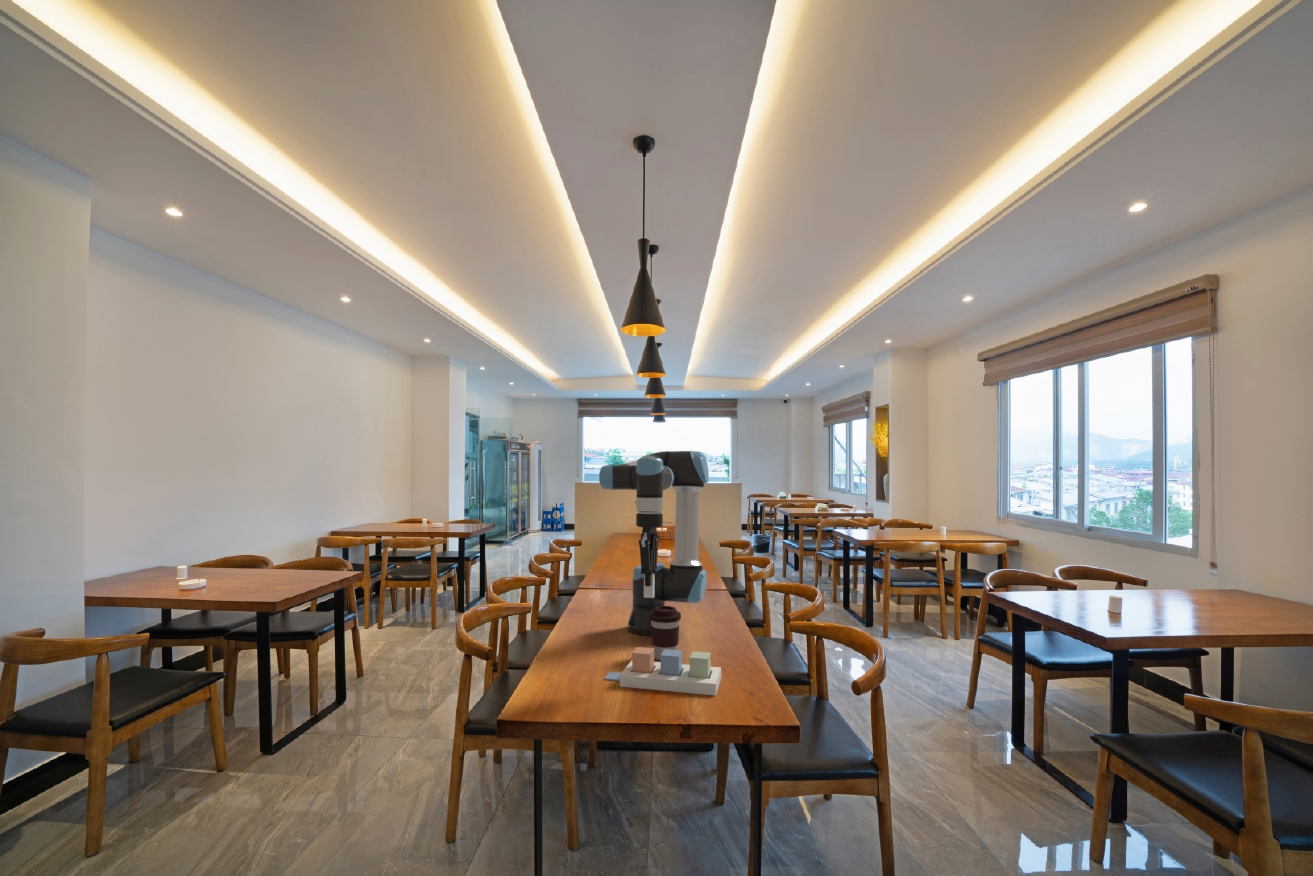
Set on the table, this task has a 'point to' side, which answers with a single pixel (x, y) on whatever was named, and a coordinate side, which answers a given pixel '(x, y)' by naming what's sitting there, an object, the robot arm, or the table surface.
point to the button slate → (671, 662)
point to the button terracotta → (643, 660)
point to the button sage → (700, 665)
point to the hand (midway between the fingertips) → (649, 597)
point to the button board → (671, 680)
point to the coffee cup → (664, 629)
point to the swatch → (613, 676)
